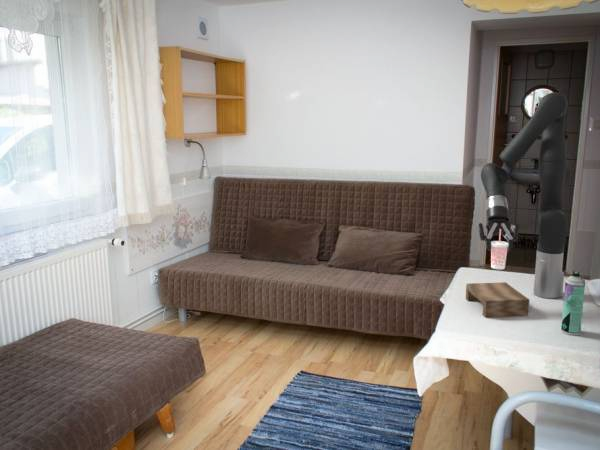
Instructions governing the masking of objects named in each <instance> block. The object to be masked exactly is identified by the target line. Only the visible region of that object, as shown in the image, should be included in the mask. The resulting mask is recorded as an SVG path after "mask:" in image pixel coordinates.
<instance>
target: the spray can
mask: <svg viewBox="0 0 600 450" xmlns="http://www.w3.org/2000/svg"><path fill="white" fill-rule="evenodd" d="M585 281H586V280H585V279H584V278H582V276H581V275H580V272H579V271H577V270H573V271H572V274H570V276H568V277H566V278H565V281H564V282H565V284H564V295H563V305H562V307H563V308H562V317H561V329H560V331H561V333H562V334H565V335H566V336H567V335H568V336H578V335H581V330H582V329H581V328H582V320H583V319H582V317H583V307H584V299H585V298H584V297H585V290H586V289H585V287H586V282H585Z"/></svg>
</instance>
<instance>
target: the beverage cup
mask: <svg viewBox="0 0 600 450" xmlns="http://www.w3.org/2000/svg"><path fill="white" fill-rule="evenodd" d="M501 238H502V237H501V229H500V232H499V235H498V240H491V251H490V268H492V269H494V270H504V269H505V268H506V263H507V254H508V246H509V243H508V241H503V240H501Z"/></svg>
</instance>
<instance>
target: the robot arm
mask: <svg viewBox="0 0 600 450" xmlns="http://www.w3.org/2000/svg"><path fill="white" fill-rule="evenodd" d="M567 110H568V99H567V98H566V97H565V95H564V94H562V93H560V92H549V93H547V94H545V95H544V96H543V97H542V98H541V100H540V101H539V104H538V105H537V107H536V110H535V111H534V113H533V115H532V116H531V117H530V119H529V120H528V121H527V123H526V124H525V125H524V126H523V127H522V129H521V130H520V131H518V133H517V134H516V135H515V136H514V137H513V138H512V139H511V140H510V142H508V144H507V145H506V146H505V148H504V149H503V150H502V151H501V153H500V154H499V158H500V160H501V161H502V162H503V164H502V166H499V165H497V164H495V163H494V162H493V163H492V162H489V163H486V164H485V165H484V166H483V167H482V168H481V172H480V178H481V182H482V185H483V189H484V190H485V193H486V195H485V196H486V197H485V198H486V203H485V204H486V205H485V206H486V207H485V211H486V223H482V222H479V223H478V227H477V230H478V234H479V239H480V241H484V242H485V246H486V247H485V248H486V250H488V252H491V242H492V238H493V236H499V232H500V229H501V236H502V237H504V239H506V242H507V243H509V246H508V248H507V253H508V252H509V253H510V252H512V251H513V248H514V243H515V242H517V241H518V239H519V233H520V232H519V229H520V225H519V224H518V223H517V224H511V222H510V217H509V216H510V215H509V203H508V201H507V199H508V197H507V190H506V187H505V185H506V184H507V183H508V182H509V181H510V179H511V176H512V175H513V172H514V170H515V169H516V166H517V164H518V163H519V162H520V160H522V159H523V157H524V156H525V155H526V154H527V153H528V151H529V150H530V149H531V147H532V146H533V144H534V143H535V142H536V141H537V139H538V138H539V137H540V136H541V141H540V146H539V147H540V148H539V156H538V159H539V160H538V175H539V187H540V205H539V213H538V225H539V231H538V240H537V244H536V245H537V247H536V256H535V257H536V258H535V269H534V281H533V294H534V296H536V297H538V298H539V297H540V298H542V299H543V298H544V299H558V298H560V297H563V291H564V282H565V281H564V279H565V272H564V271H563V263H564V252H565V246H566V243H567V233H568V218H567V216H566V215H565V214H564V207H563V206H564V205H563V193H564V187H565V182H566V177H567V170H568V169H567V166H568V160H567V159H568V156H567V145H566V143H567V142H566V137H565V123H566V115H567ZM485 229H487V231H488V234H487V235H486V234H485ZM510 229H511V231H512V232H513V236H512V234H511V232H510Z"/></svg>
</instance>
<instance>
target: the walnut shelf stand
mask: <svg viewBox="0 0 600 450" xmlns="http://www.w3.org/2000/svg"><path fill="white" fill-rule="evenodd" d="M465 285H466V287H465V300H466V301H467V302H477V301H478V302H480V303H481V304H483V305H482V316H483V317H484V318H486V319H487V318H509V317H511V318H512V317H528V316H529V309H530V298H528V297H526V295H524V294H522V293H521V292H519V291H518V290H517V289H516V288H514V287H513V286H511V285H510V284H509V283H508V282H480V283H478V282H475V283H466V284H465Z"/></svg>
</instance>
